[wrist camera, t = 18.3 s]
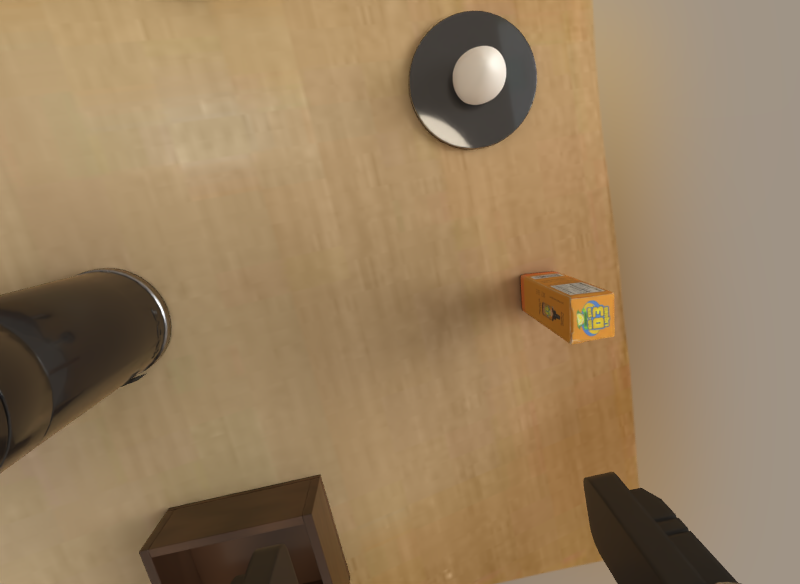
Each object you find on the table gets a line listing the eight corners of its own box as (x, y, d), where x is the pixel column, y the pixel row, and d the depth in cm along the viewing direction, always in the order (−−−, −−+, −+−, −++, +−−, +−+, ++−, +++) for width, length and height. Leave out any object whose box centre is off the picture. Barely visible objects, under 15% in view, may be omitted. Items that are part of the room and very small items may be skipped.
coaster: (403, 142, 37) (403, 141, 36) (415, 6, 35) (416, 3, 34) (524, 155, 37) (526, 154, 37) (544, 21, 35) (546, 18, 35)
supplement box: (559, 306, 40) (616, 341, 30) (521, 310, 40) (565, 347, 30) (558, 268, 39) (616, 292, 30) (519, 272, 39) (564, 298, 30)
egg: (503, 100, 36) (524, 83, 30) (456, 114, 36) (469, 99, 31) (491, 50, 35) (511, 23, 30) (444, 64, 35) (455, 40, 30)
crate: (206, 608, 45) (183, 663, 40) (168, 508, 43) (138, 552, 37) (350, 577, 45) (345, 627, 40) (320, 474, 43) (311, 513, 37)
